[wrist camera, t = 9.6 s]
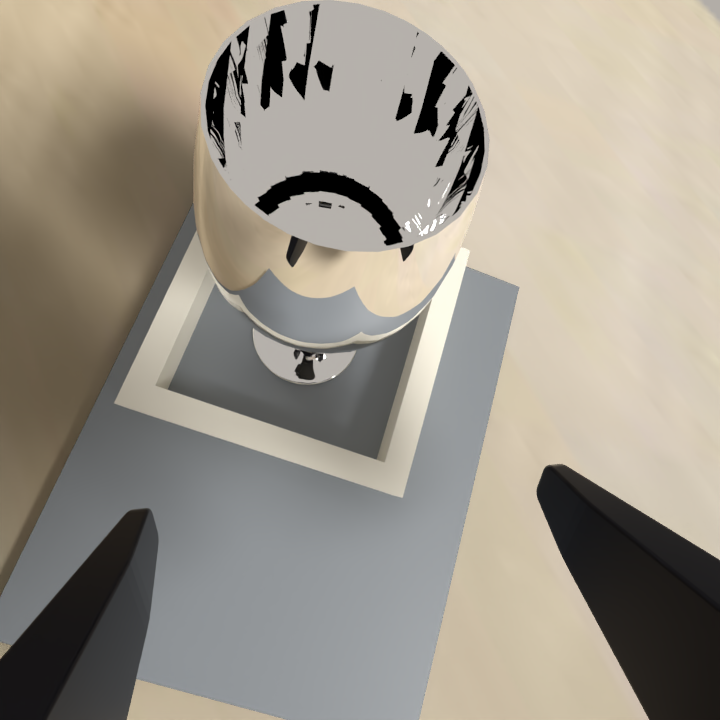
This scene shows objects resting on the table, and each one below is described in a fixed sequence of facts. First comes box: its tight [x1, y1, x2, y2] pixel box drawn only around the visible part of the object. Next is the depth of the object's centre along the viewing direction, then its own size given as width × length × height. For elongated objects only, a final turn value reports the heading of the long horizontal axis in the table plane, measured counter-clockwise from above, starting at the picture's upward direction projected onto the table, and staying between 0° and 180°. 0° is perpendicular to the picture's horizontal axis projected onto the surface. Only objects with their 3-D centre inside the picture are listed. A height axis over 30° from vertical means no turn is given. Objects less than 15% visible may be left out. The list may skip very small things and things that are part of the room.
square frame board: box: [0, 203, 519, 720], centre depth 17 cm, size 15×19×2 cm
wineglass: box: [193, 0, 489, 385], centre depth 13 cm, size 6×6×12 cm
